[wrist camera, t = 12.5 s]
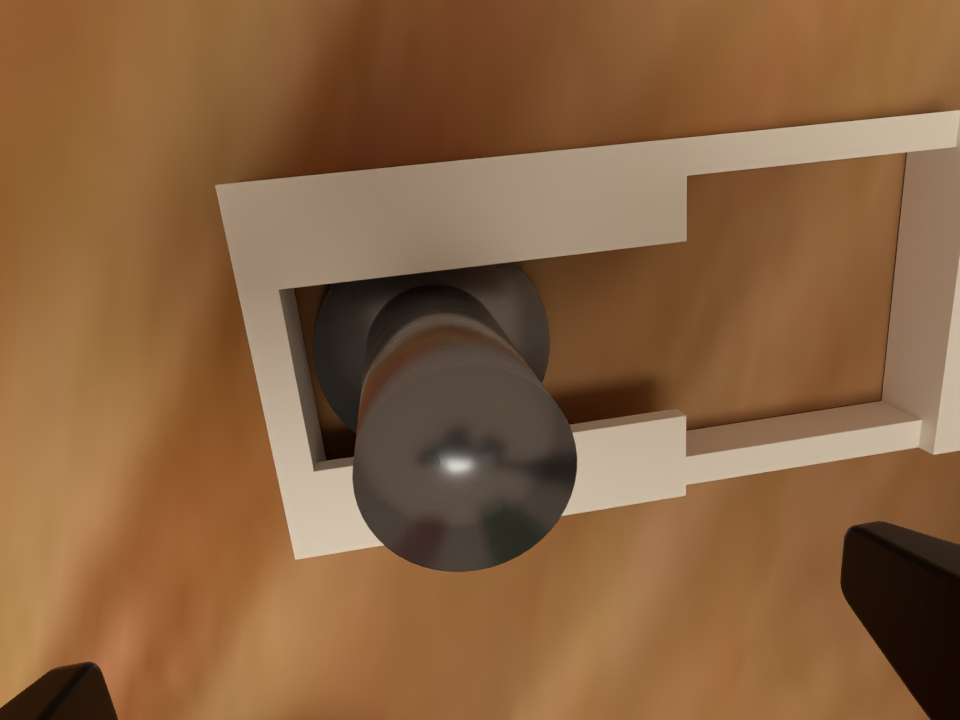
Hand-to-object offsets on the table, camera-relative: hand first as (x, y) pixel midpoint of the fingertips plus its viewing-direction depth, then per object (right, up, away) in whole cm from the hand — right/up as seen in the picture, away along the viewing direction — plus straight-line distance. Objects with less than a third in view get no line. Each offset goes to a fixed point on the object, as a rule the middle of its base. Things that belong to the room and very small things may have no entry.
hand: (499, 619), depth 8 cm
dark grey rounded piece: (-2, +4, +12) cm, 13 cm away
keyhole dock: (+4, +4, +13) cm, 14 cm away
